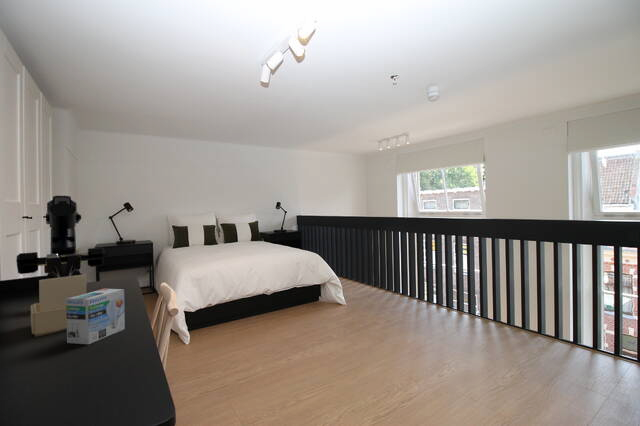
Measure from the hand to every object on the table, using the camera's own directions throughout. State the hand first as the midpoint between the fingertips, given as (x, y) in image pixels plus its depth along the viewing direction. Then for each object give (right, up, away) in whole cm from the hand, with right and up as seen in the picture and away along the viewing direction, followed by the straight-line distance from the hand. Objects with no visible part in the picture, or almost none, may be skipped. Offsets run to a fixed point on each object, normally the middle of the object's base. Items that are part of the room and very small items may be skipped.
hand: (64, 284), depth 81 cm
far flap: (0, -2, 0) cm, 2 cm away
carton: (-5, -13, +5) cm, 14 cm away
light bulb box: (+12, -12, -4) cm, 18 cm away
